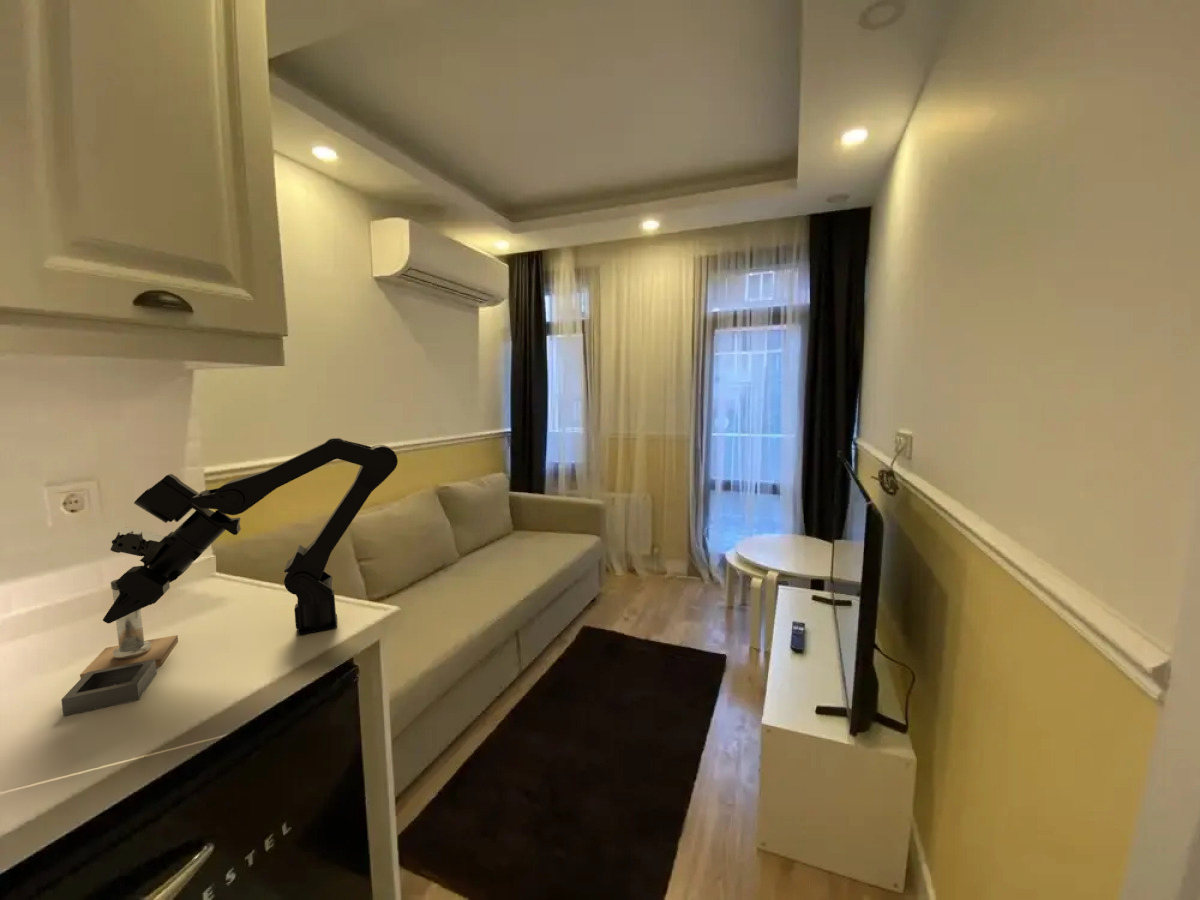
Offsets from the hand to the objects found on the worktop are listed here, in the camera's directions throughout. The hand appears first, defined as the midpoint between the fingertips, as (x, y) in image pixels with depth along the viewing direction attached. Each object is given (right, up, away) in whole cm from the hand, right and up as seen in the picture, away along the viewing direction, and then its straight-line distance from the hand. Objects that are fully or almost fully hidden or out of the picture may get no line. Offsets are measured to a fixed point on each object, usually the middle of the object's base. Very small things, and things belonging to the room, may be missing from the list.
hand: (116, 611), depth 86 cm
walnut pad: (+1, -9, +1) cm, 9 cm away
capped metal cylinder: (+1, -8, +1) cm, 8 cm away
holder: (+8, -10, -9) cm, 15 cm away
